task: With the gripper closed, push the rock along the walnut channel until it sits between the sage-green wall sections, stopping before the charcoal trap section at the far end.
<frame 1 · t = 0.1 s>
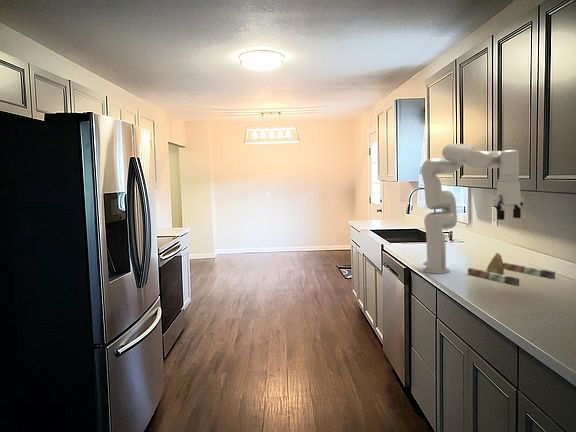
hand: (508, 218, 192), 31 cm above the countertop, tool pointing down, fingers open, 9 cm apart
rock: (494, 273, 226), on the countertop
channel: (510, 276, 218), on the countertop
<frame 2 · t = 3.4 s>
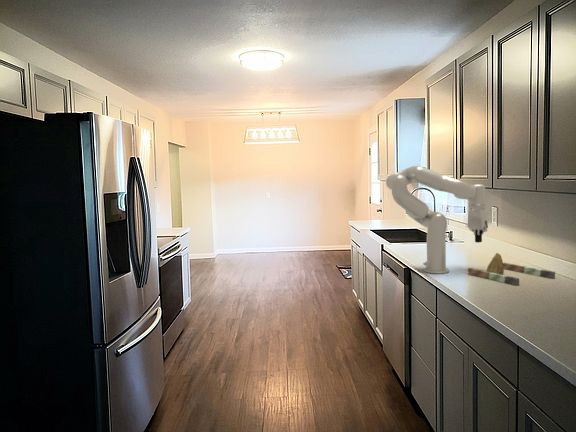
hand: (478, 242, 235), 15 cm above the countertop, tool pointing down, fingers closed
nothing on the countertop moved.
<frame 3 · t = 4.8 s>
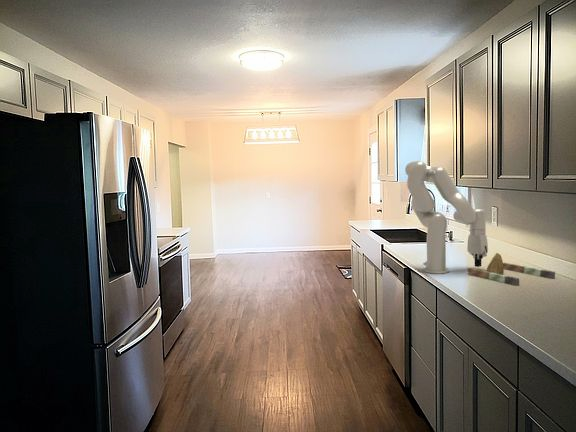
hand: (478, 266, 236), 2 cm above the countertop, tool pointing down, fingers closed
nothing on the countertop moved.
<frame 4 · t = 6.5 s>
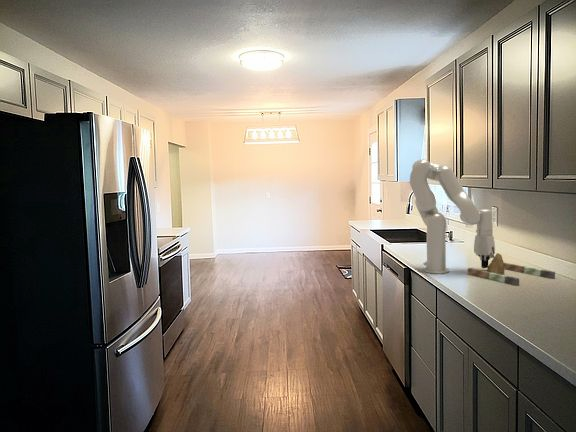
hand: (484, 267, 232), 2 cm above the countertop, tool pointing down, fingers closed
rock: (495, 273, 226), on the countertop, touching gripper
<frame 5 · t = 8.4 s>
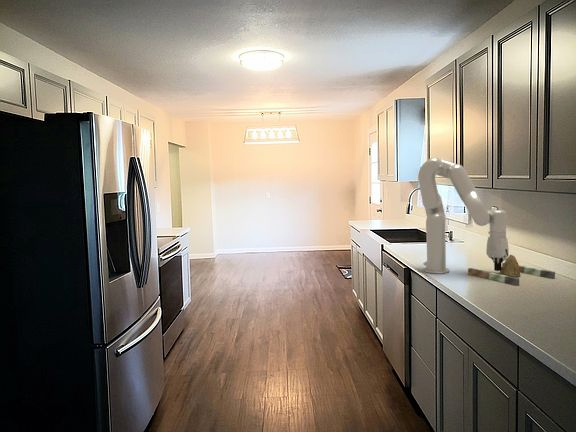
hand: (497, 270, 225), 2 cm above the countertop, tool pointing down, fingers closed
rock: (509, 275, 221), on the countertop
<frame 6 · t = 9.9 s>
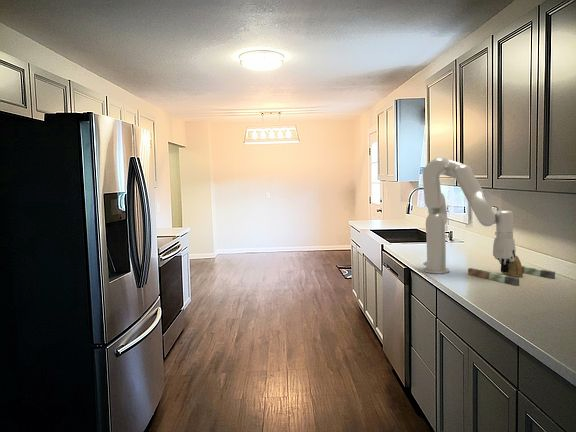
hand: (504, 271, 221), 2 cm above the countertop, tool pointing down, fingers closed
rock: (512, 275, 220), on the countertop, touching gripper
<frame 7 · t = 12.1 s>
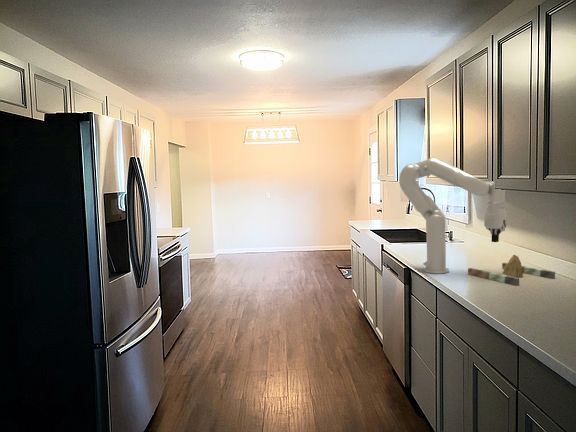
hand: (495, 241, 224), 16 cm above the countertop, tool pointing down, fingers closed
rock: (512, 275, 220), on the countertop
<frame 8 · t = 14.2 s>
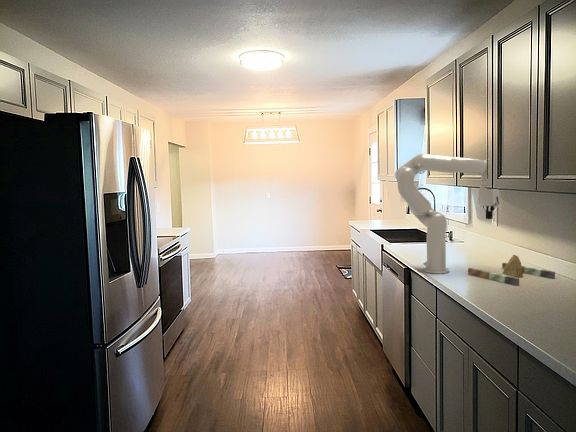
hand: (489, 218, 232), 27 cm above the countertop, tool pointing down, fingers closed
nothing on the countertop moved.
at the end: rock inside the target area (4.8 cm from its centre), on the countertop; rock tilted 0°; rock moved 8.7 cm from its start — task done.
